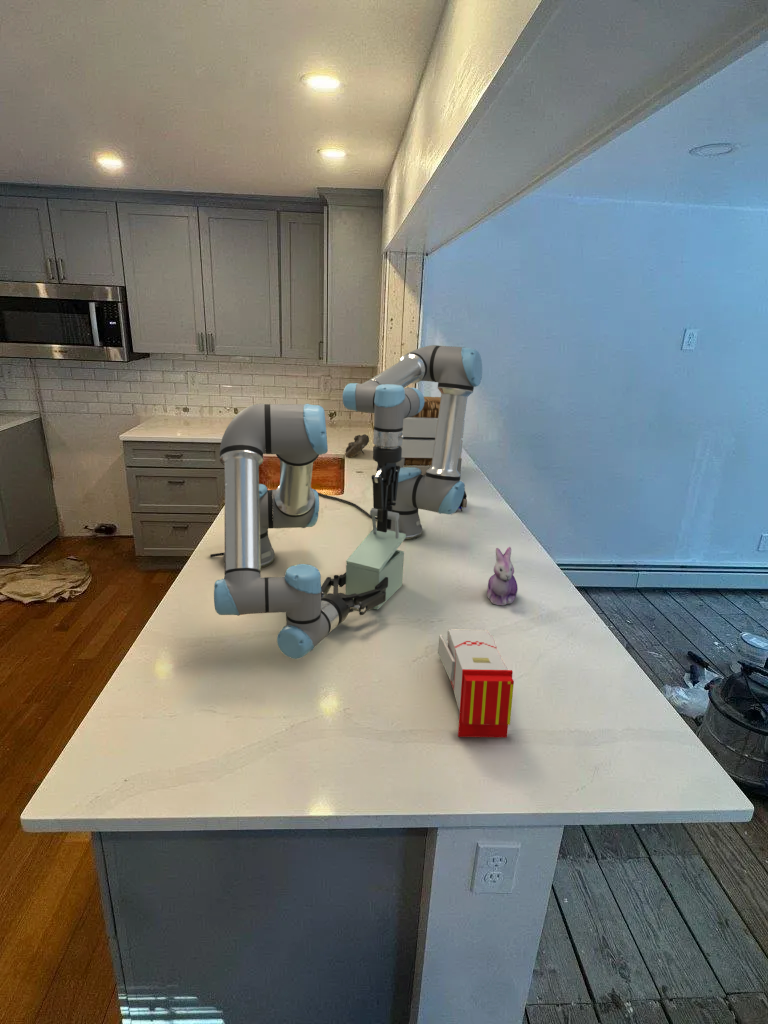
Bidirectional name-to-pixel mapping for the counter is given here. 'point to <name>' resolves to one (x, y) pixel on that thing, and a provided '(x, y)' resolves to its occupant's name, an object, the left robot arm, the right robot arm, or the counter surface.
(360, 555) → the lid
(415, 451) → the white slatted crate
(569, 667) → the counter surface
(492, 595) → the figurine
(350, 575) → the chest
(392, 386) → the right robot arm
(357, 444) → the fossil
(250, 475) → the left robot arm
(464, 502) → the figurine character
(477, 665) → the toy
